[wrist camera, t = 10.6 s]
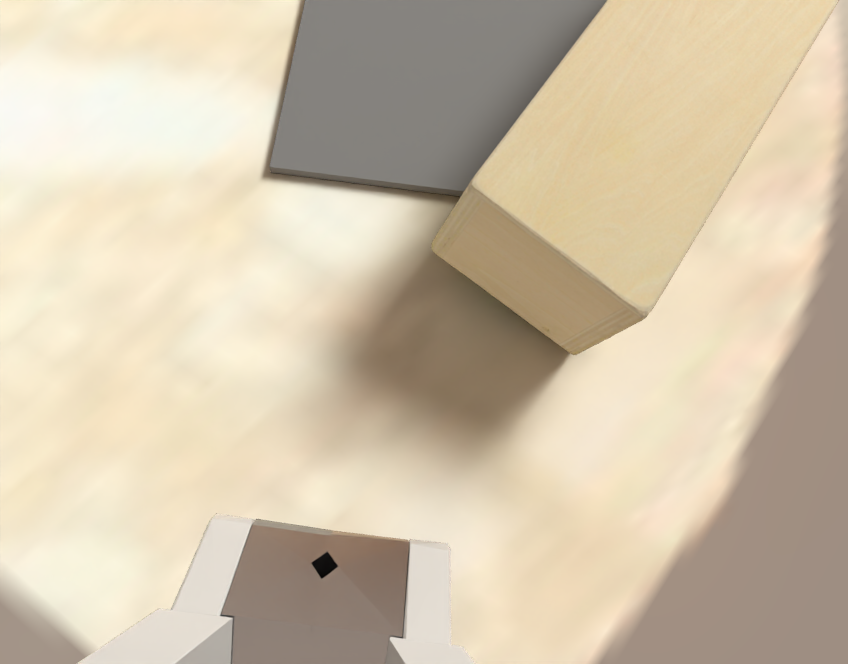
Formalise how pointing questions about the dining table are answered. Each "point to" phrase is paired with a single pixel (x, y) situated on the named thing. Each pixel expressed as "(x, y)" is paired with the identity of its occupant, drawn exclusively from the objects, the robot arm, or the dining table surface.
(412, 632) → the robot arm
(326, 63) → the mat
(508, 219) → the wooden rectangular block
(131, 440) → the dining table surface
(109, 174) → the dining table surface
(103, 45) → the dining table surface
